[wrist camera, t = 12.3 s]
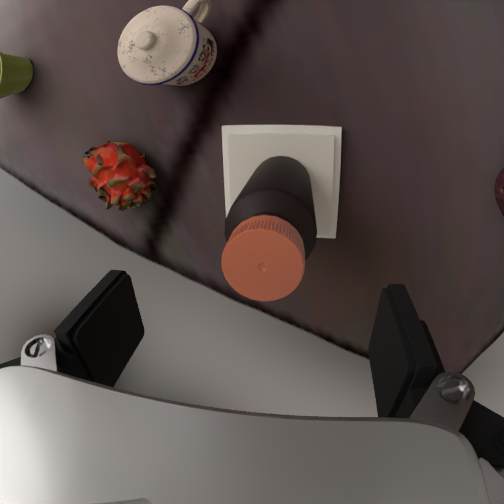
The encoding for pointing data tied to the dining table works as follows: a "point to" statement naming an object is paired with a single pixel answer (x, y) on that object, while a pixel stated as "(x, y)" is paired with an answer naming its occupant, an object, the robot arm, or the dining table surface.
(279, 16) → the dining table surface
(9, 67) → the plant pot
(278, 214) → the dark brown water bottle
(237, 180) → the stand
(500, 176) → the vegetable
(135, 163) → the dragon fruit
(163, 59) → the teacup with lid
